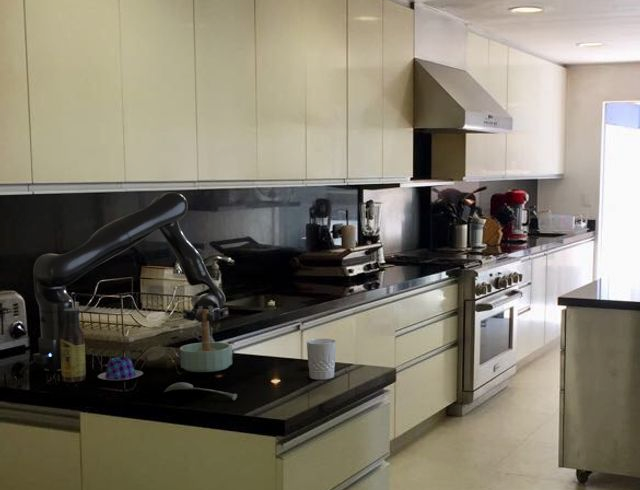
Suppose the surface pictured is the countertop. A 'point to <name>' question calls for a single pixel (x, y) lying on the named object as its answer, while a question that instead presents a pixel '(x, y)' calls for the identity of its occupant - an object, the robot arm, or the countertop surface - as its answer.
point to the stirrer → (205, 331)
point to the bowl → (206, 357)
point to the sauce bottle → (72, 348)
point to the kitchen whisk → (201, 335)
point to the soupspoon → (190, 387)
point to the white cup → (321, 358)
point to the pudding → (120, 370)
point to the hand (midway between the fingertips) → (204, 318)
